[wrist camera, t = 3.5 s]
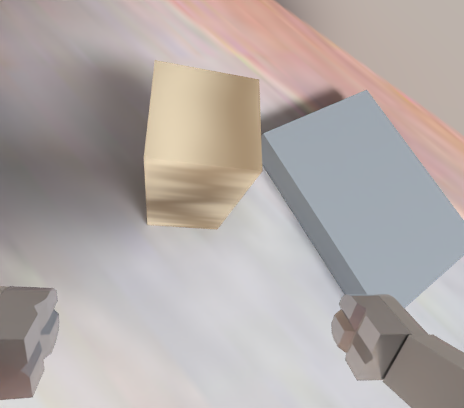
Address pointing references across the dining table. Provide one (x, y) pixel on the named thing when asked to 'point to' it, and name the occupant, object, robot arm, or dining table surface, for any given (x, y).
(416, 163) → the base plate
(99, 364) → the dining table surface
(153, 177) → the maple block
